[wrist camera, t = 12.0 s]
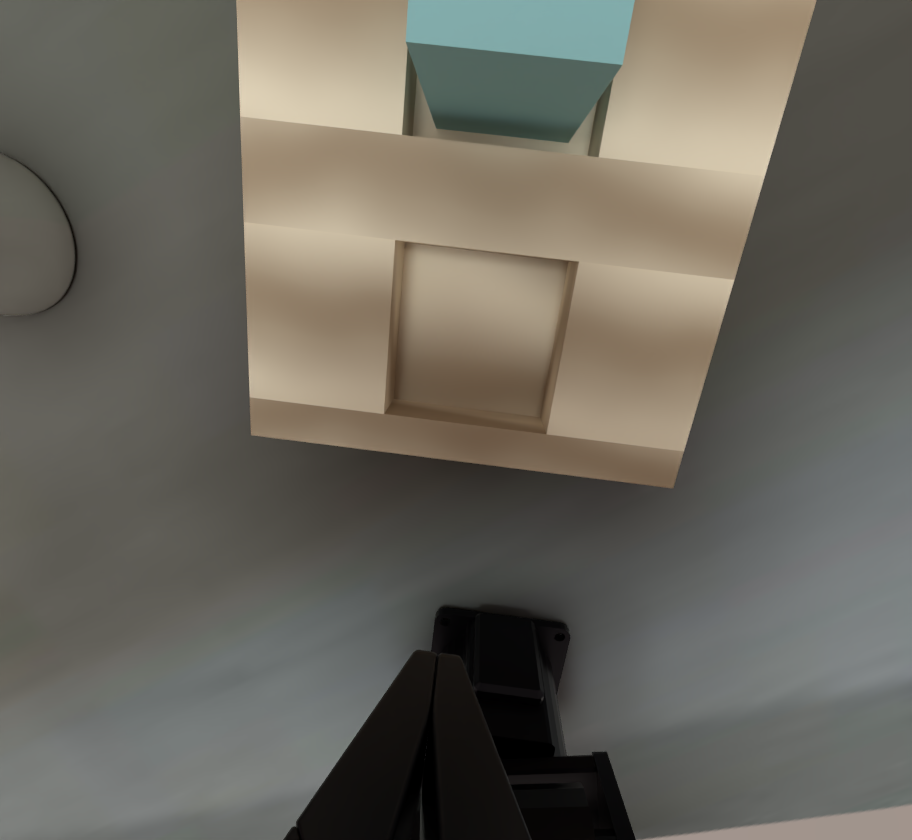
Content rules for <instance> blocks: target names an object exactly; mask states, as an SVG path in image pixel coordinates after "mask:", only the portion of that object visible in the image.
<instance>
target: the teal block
mask: <svg viewBox="0 0 912 840" xmlns="http://www.w3.org/2000/svg"><path fill="white" fill-rule="evenodd" d="M634 2H635V0H408V11H407V28H406V44H407V47H408V50H409V53H410V56H411V58H412V61H413V64H414V67H415V70H416V73H417V75H418V78H419V81H420V84H421V87H422V90H423V93H424V95H425V98H426V101H427V104H428V107H429V110H430V112H431V115H432V118H433V121H434V124H435V127H436V129H445V130H454V131H463V132H472V133H481V134H490V135H500V136H509V137H518V138H527V139H536V140H545V141H554V142H563V143H569V141H570V140H571V138H572V137H573V135H574V134H575V133H576V131H577V130H578V128H579V127H580V125H581V124H582V123H583V121H584V120H585V118H586V117H587V115H588V114H589V112H590V111H591V110H592V108H593V107H594V105H595V104H596V102H597V101H598V100H599V98H600V97H601V95H602V94H603V92H604V91H605V89H606V88H607V87H608V85H609V84H610V82H611V81H612V79H613V78H614V77H615V75H616V74H617V72H618V71H619V69H620V68H621V66H622V65H623V60H624V55H625V50H626V44H627V39H628V34H629V29H630V23H631V18H632V13H633V7H634Z"/></svg>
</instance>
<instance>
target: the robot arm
mask: <svg viewBox="0 0 912 840" xmlns="http://www.w3.org/2000/svg"><path fill="white" fill-rule="evenodd" d="M442 618H448V619H449V620H443V619H442ZM557 633H562V634H561V635H555V634H557ZM569 641H570V633H569V629H568V627H567V626H566V625H565V624H563V623H558V622H551V621H543V620H536V619H528V618H520V617H513V616H505V615H498V614H490V613H483V612H475V611H467V610H460V609H452V608H442V609H439V610H438V611H437V613H436V617H435V625H434V633H433V641H432V650H431V652H430V651H423V650H416V651H415V652H414V653H413V654H412V655H411V657H410V658H409V660H408V661H407V662H406V664H405V665H404V667H403V668H402V670H401V671H400V673H399V674H398V675H397V677H396V678H395V680H394V681H393V683H392V684H391V686H390V687H389V688H388V690H387V691H386V693H385V694H384V696H383V697H382V699H381V700H380V701H379V703H378V704H377V706H376V707H375V709H374V710H373V712H372V713H371V714H370V716H369V717H368V719H367V720H366V722H365V723H364V724H363V726H362V727H361V729H360V730H359V732H358V733H357V735H356V736H355V737H354V739H353V740H352V742H351V743H350V745H349V746H348V748H347V749H346V750H345V752H344V753H343V755H342V756H341V758H340V759H339V761H338V762H337V763H336V765H335V766H334V768H333V769H332V771H331V772H330V774H329V775H328V776H327V778H326V779H325V781H324V782H323V784H322V785H321V787H320V788H319V789H318V791H317V792H316V794H315V795H314V797H313V798H312V799H311V801H310V802H309V804H308V805H307V807H306V808H305V810H304V811H303V812H302V814H301V815H300V817H299V818H298V820H297V821H296V827H295V826H294V827H292V828H291V829H290V831H289V832H288V834H287V835H286V837H285V838H284V839H283V840H636V839H635V836H634V833H633V830H632V827H631V824H630V821H629V818H628V815H627V812H626V809H625V806H624V803H623V800H622V797H621V794H620V791H619V788H618V784H617V781H616V778H615V775H614V772H613V769H612V766H611V763H610V760H609V757H608V754H607V752H592V755H579V756H567V754H566V749H565V743H564V737H563V731H562V725H561V719H560V713H559V707H558V701H557V691H558V687H559V683H560V678H561V674H562V670H563V666H564V662H565V658H566V654H567V649H568V645H569ZM427 738H428V739H427ZM426 746H427V747H426ZM425 754H426V755H425Z"/></svg>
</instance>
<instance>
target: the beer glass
mask: <svg viewBox="0 0 912 840" xmlns="http://www.w3.org/2000/svg"><path fill="white" fill-rule="evenodd" d="M74 268H75V246H74V240H73V236H72V232H71V229H70V226H69V223H68V220H67V218H66V216H65V214H64V212H63V210H62V208H61V206H60V204H59V203H58V201H57V200H56V198H55V197H54V195H53V194H52V193H51V191H50V190H49V189H48V188H47V186H46V185H45V184H44V183H43V182H42V181H41V180H40V179H39V178H38V177H37V176H36V175H35V174H34V173H32V172H31V171H30V170H29V169H27V168H26V167H25V166H23V165H22V164H20V163H19V162H17V161H15V160H13V159H12V158H10V157H7V156H5V155H3V154H1V153H0V315H11V316H16V315H30V314H35V313H38V312H41V311H44V310H46V309H48V308H50V307H51V306H53V305H54V304H56V303H57V302H58V301H59V300H60V299H61V298H62V297H63V296H64V294H65V293H66V291H67V289H68V288H69V286H70V283H71V281H72V278H73V274H74Z"/></svg>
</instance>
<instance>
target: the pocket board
mask: <svg viewBox="0 0 912 840" xmlns="http://www.w3.org/2000/svg"><path fill="white" fill-rule="evenodd" d="M236 2H237V31H238V61H239V91H240V121H241V151H242V181H243V210H244V240H245V270H246V300H247V330H248V360H249V389H250V419H251V435H254V436H262V437H270V438H278V439H286V440H294V441H302V442H310V443H317V444H325V445H333V446H341V447H349V448H357V449H365V450H373V451H381V452H389V453H397V454H405V455H412V456H420V457H428V458H436V459H444V460H452V461H460V462H468V463H476V464H484V465H492V466H500V467H508V468H515V469H523V470H531V471H539V472H547V473H555V474H563V475H571V476H579V477H587V478H595V479H603V480H610V481H618V482H626V483H634V484H642V485H650V486H658V487H666V488H673V487H674V484H675V480H676V477H677V473H678V470H679V467H680V463H681V460H682V456H683V453H684V450H685V446H686V443H687V439H688V436H689V432H690V429H691V426H692V422H693V419H694V415H695V412H696V409H697V405H698V402H699V398H700V395H701V392H702V388H703V385H704V381H705V378H706V375H707V371H708V368H709V364H710V361H711V358H712V354H713V351H714V347H715V344H716V341H717V337H718V334H719V330H720V327H721V324H722V320H723V317H724V313H725V310H726V307H727V303H728V300H729V296H730V293H731V290H732V286H733V283H734V279H735V276H736V272H737V269H738V266H739V262H740V259H741V255H742V252H743V249H744V245H745V242H746V238H747V235H748V232H749V228H750V225H751V221H752V218H753V215H754V211H755V208H756V204H757V201H758V198H759V194H760V191H761V187H762V184H763V181H764V177H765V174H766V170H767V167H768V164H769V160H770V157H771V153H772V150H773V147H774V143H775V140H776V136H777V133H778V130H779V126H780V123H781V119H782V116H783V112H784V109H785V106H786V102H787V99H788V95H789V92H790V89H791V85H792V82H793V78H794V75H795V72H796V68H797V65H798V61H799V58H800V55H801V51H802V48H803V44H804V41H805V38H806V34H807V31H808V27H809V24H810V21H811V17H812V14H813V10H814V7H815V4H816V0H635V2H634V7H633V13H632V18H631V23H630V29H629V34H628V39H627V44H626V50H625V55H624V60H623V65H622V66H621V68H620V69H619V71H618V72H617V74H616V75H615V77H614V78H613V79H612V81H611V82H610V84H609V85H608V87H607V88H606V89H605V91H604V92H603V94H602V95H601V97H600V98H599V100H598V101H597V102H596V104H595V105H594V107H593V108H592V110H591V111H590V112H589V114H588V115H587V117H586V118H585V120H584V121H583V123H582V124H581V125H580V127H579V128H578V130H577V131H576V133H575V134H574V135H573V137H572V138H571V140H570V141H569V143H563V142H554V141H545V140H536V139H527V138H518V137H509V136H500V135H490V134H481V133H472V132H463V131H454V130H445V129H436V127H435V124H434V121H433V118H432V115H431V112H430V110H429V107H428V104H427V101H426V98H425V95H424V93H423V90H422V87H421V84H420V81H419V78H418V75H417V73H416V70H415V67H414V64H413V61H412V58H411V56H410V53H409V50H408V47H407V44H406V28H407V11H408V0H236Z"/></svg>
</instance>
